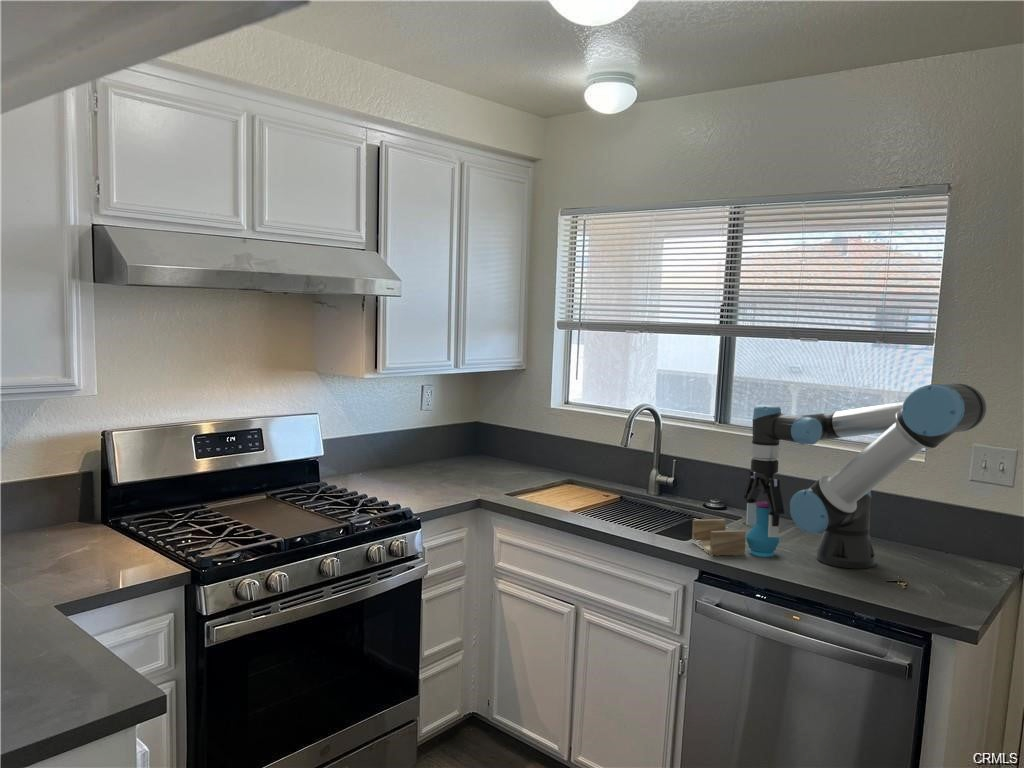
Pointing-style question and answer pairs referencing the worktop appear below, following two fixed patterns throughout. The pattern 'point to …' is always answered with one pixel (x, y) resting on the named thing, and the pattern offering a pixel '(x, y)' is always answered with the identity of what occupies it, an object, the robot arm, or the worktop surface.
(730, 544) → the holder
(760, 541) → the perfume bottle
